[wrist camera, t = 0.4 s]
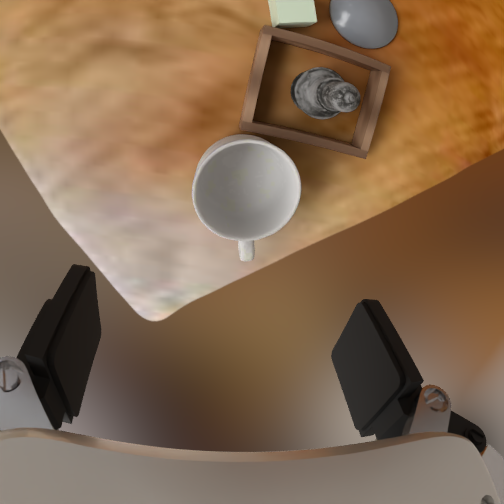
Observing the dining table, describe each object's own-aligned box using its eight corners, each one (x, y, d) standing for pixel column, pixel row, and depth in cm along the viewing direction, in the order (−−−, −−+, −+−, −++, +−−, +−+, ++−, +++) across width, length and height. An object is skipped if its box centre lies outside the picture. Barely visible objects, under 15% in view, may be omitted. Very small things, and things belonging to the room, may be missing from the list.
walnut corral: (260, 29, 28) (264, 25, 26) (379, 66, 31) (391, 66, 29) (238, 126, 34) (240, 130, 32) (355, 153, 37) (365, 159, 35)
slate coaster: (336, -26, 25) (338, -27, 24) (400, 2, 26) (402, 1, 26) (322, 34, 29) (324, 33, 29) (388, 59, 31) (390, 59, 30)
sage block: (267, -2, 27) (273, -10, 23) (301, -3, 27) (311, -11, 23) (272, 28, 29) (279, 23, 25) (306, 27, 29) (317, 21, 25)
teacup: (203, 121, 34) (199, 132, 27) (295, 137, 36) (314, 151, 29) (189, 229, 40) (183, 263, 34) (270, 239, 42) (281, 273, 36)
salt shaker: (301, 59, 31) (338, 51, 20) (344, 82, 32) (394, 88, 22) (279, 102, 33) (307, 112, 23) (323, 123, 35) (365, 144, 25)
